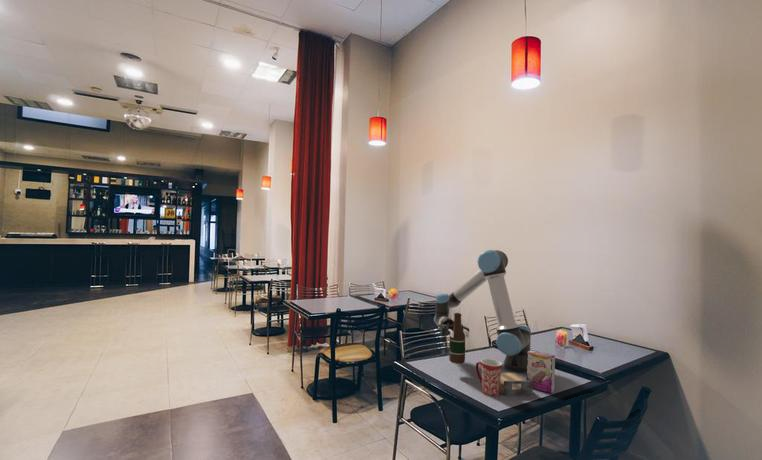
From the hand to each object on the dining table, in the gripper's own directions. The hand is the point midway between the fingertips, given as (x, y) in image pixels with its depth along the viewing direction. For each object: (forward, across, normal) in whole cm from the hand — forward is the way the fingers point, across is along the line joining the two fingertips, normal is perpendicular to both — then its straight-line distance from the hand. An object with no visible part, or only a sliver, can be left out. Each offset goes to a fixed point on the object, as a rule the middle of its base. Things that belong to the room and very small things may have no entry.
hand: (460, 334), depth 173 cm
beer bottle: (-5, 0, -15) cm, 15 cm away
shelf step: (+11, -20, -22) cm, 31 cm away
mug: (+15, -8, -22) cm, 27 cm away
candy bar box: (+13, -34, -22) cm, 42 cm away
